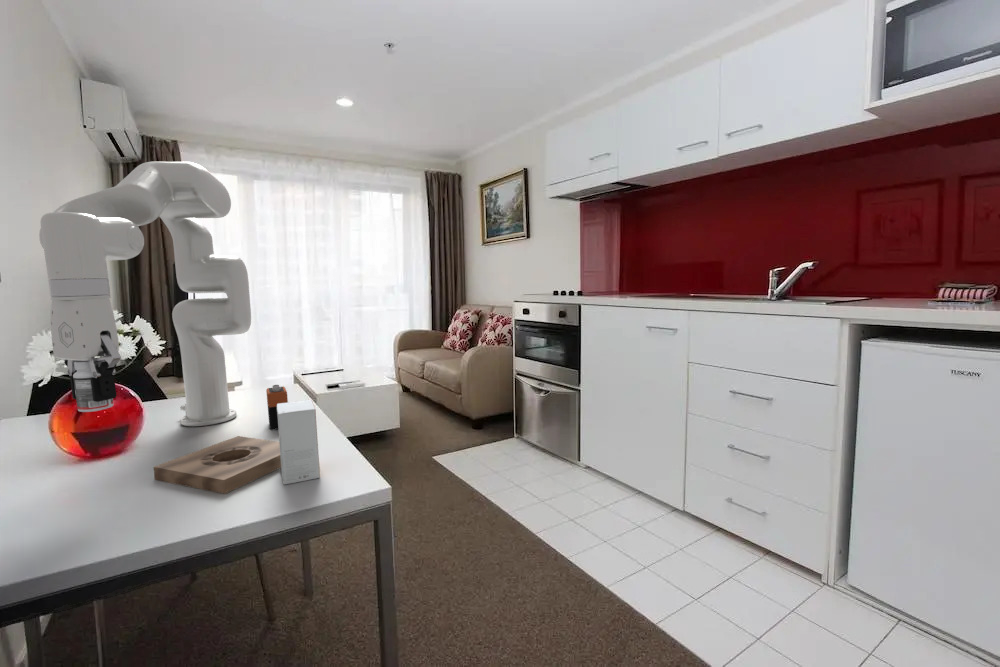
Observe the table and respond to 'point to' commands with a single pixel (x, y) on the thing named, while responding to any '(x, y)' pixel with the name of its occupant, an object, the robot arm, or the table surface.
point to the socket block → (222, 465)
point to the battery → (275, 403)
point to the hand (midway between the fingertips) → (94, 397)
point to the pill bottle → (87, 389)
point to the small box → (298, 441)
